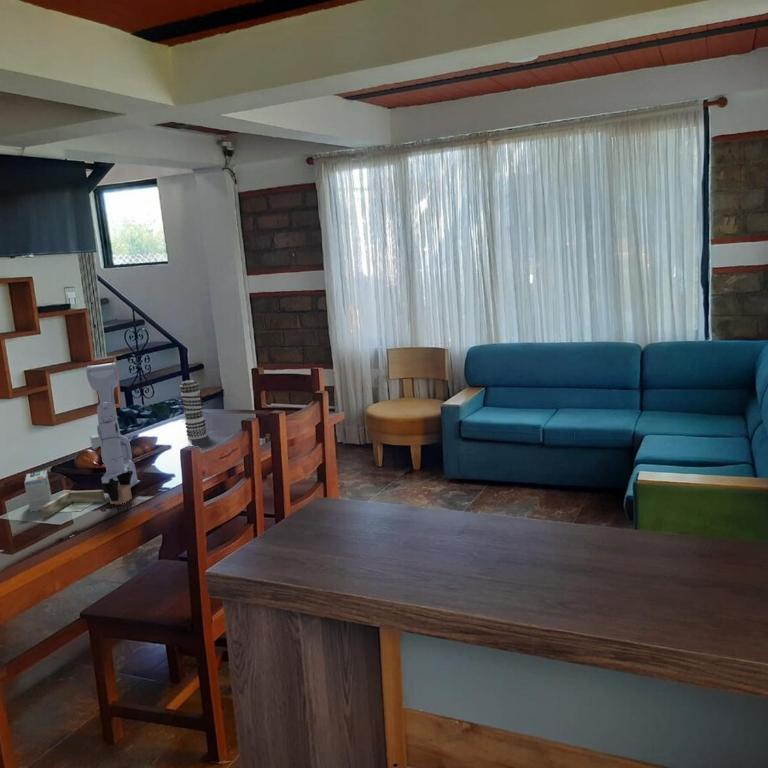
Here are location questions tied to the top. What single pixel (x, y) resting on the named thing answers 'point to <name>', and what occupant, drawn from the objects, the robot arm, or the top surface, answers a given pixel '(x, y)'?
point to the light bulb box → (37, 490)
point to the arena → (73, 497)
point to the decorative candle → (193, 410)
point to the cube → (122, 494)
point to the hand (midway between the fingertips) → (120, 496)
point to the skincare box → (95, 441)
